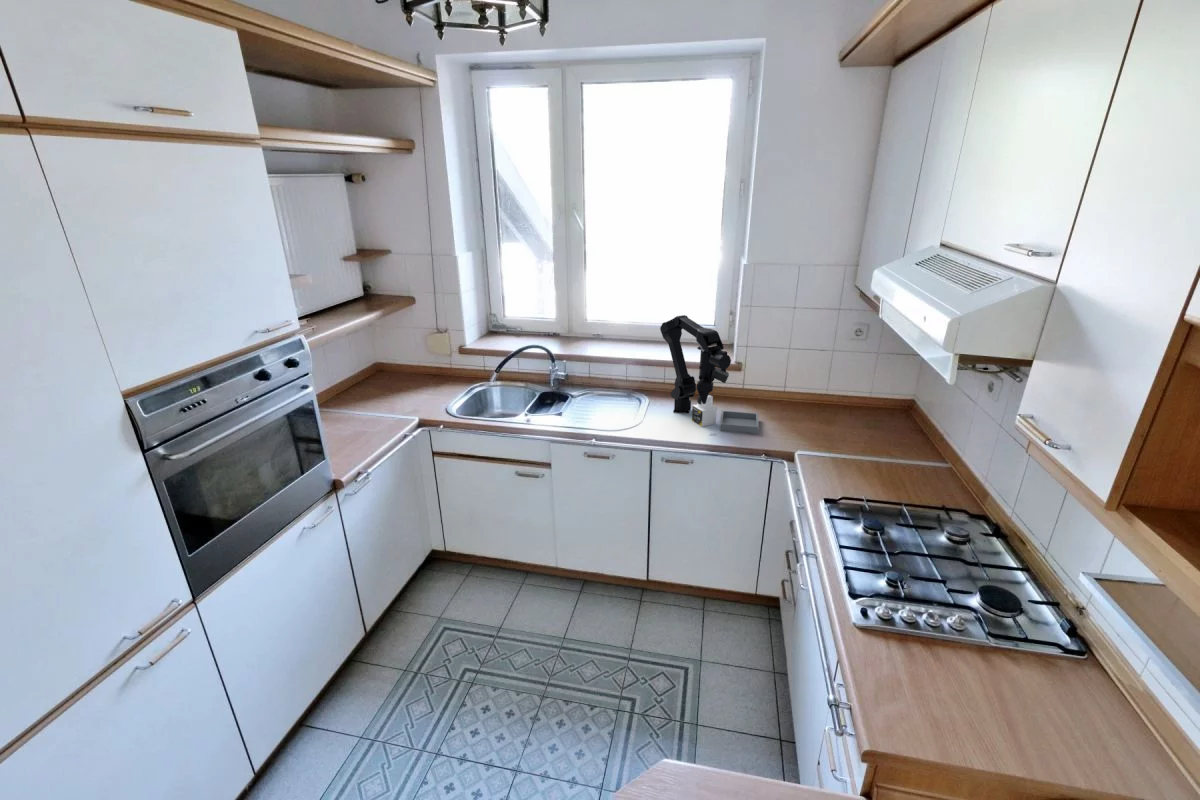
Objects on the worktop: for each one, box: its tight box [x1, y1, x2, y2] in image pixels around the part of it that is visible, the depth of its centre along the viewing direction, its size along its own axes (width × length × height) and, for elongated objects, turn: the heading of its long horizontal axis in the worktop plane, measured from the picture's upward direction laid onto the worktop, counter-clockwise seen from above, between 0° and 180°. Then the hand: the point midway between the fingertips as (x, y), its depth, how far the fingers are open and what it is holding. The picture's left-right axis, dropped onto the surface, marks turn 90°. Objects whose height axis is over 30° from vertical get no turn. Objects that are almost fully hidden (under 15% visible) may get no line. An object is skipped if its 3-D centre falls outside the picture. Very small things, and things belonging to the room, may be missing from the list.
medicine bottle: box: [691, 393, 718, 428], centre depth 227 cm, size 7×7×12 cm
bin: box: [719, 409, 760, 435], centre depth 225 cm, size 15×15×3 cm
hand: (704, 399), depth 226 cm, fingers open, 9 cm apart
